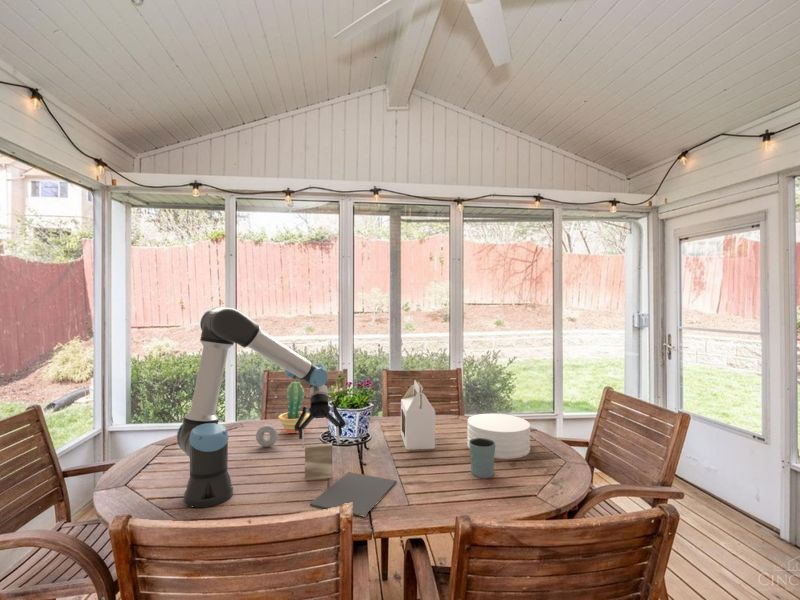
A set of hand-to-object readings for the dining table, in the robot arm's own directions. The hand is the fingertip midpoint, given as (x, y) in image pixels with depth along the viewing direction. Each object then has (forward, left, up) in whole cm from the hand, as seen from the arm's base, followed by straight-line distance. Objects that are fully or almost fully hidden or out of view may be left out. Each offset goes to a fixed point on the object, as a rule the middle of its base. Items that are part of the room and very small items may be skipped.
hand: (320, 444), depth 158 cm
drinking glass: (+22, -59, -10) cm, 64 cm away
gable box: (+46, -24, -10) cm, 53 cm away
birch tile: (-5, -2, -10) cm, 12 cm away
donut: (+13, +37, -10) cm, 40 cm away
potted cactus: (+36, +39, -10) cm, 54 cm away
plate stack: (+53, -61, -10) cm, 82 cm away
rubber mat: (-11, -21, -10) cm, 26 cm away
